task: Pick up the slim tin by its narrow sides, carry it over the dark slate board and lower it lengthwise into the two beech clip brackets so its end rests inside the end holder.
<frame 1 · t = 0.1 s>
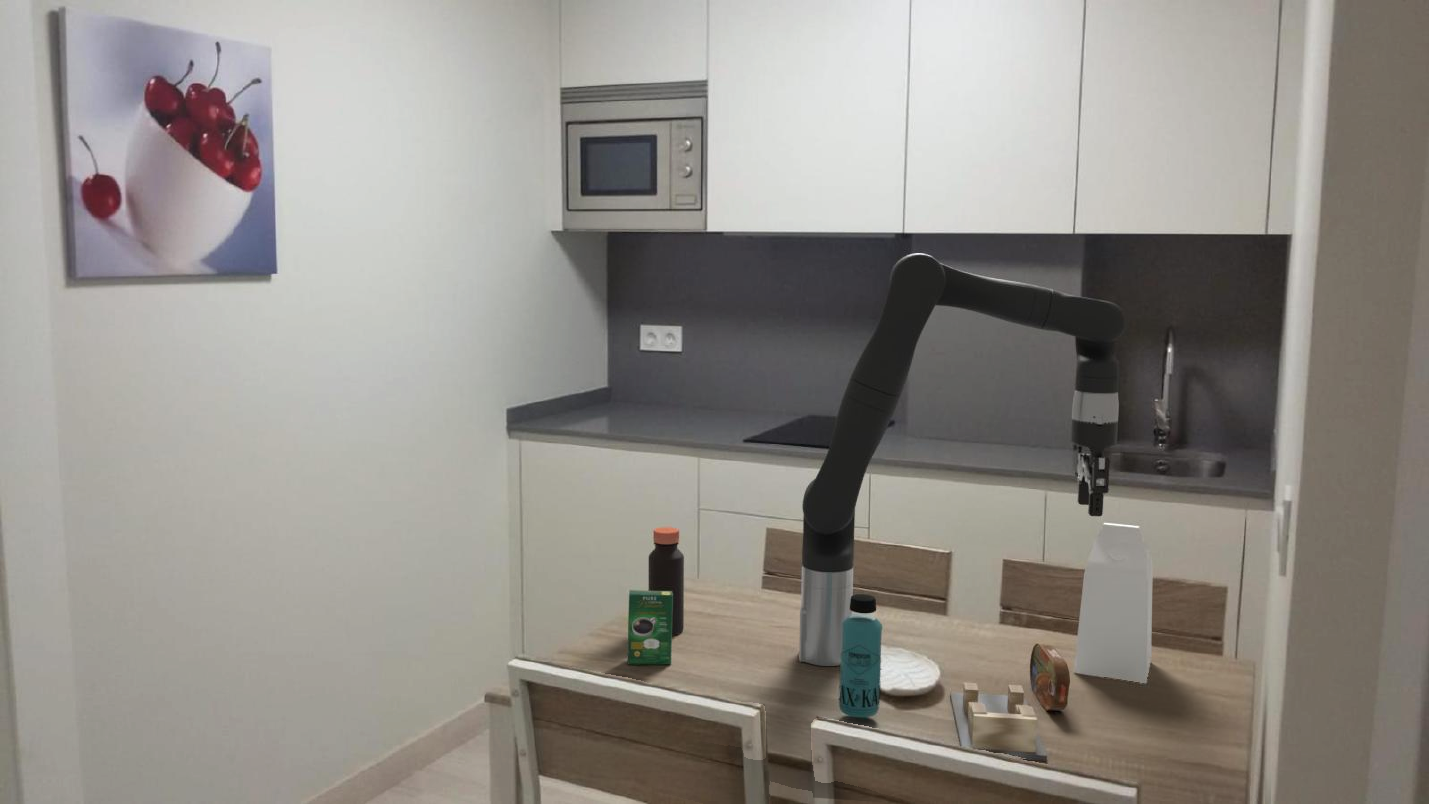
hand: (1089, 510, 193), 29 cm above the table, tool pointing down, fingers open, 8 cm apart
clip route: (995, 726, 173), on the table
tin: (1048, 701, 184), on the table
vinegar: (666, 631, 216), on the table
beverage bottle: (859, 720, 176), on the table
coffee box: (650, 663, 199), on the table
milk: (1112, 668, 199), on the table
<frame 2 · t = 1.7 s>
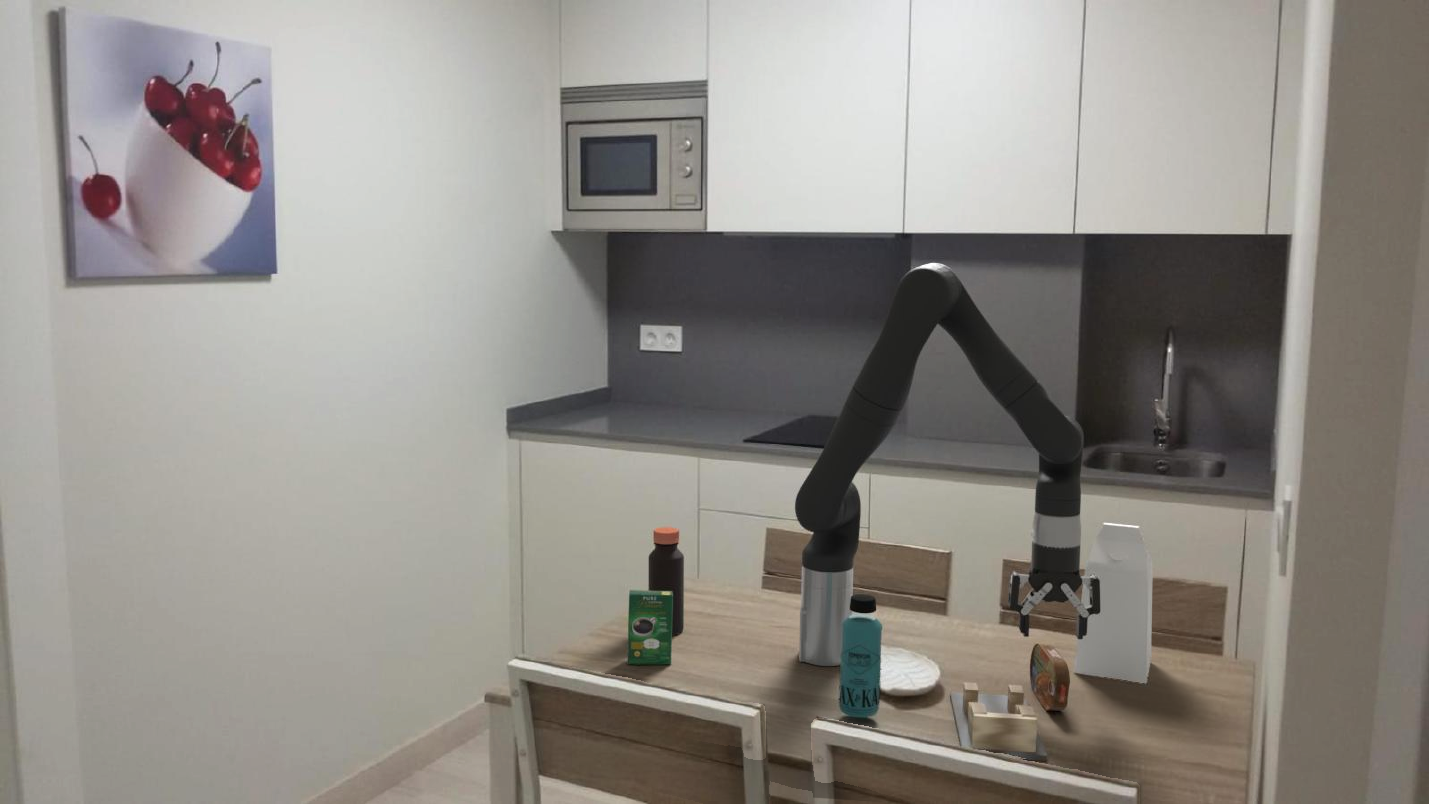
hand: (1052, 636, 182), 11 cm above the table, tool pointing down, fingers open, 8 cm apart
nothing on the table moved.
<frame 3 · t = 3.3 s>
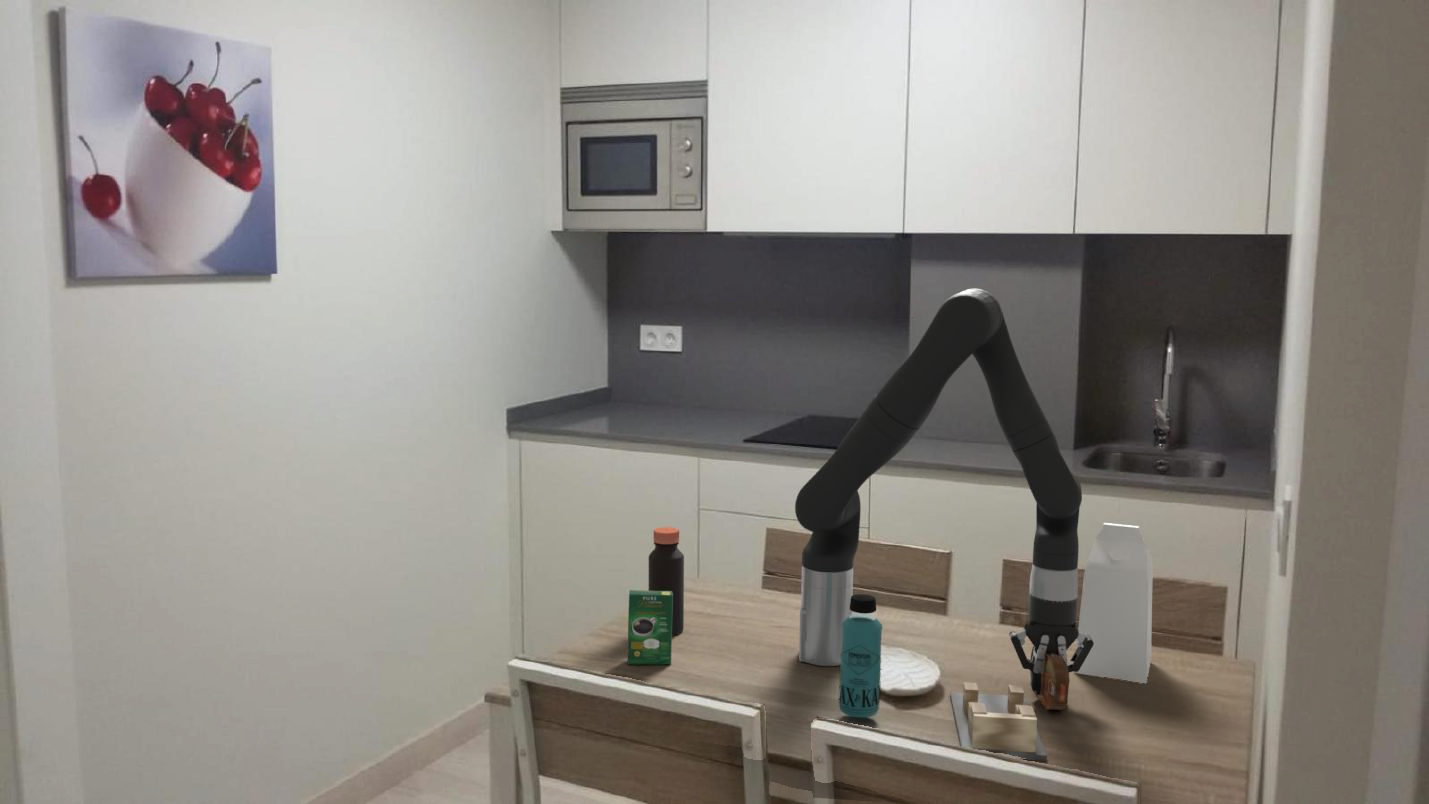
hand: (1048, 693, 184), 1 cm above the table, tool pointing down, fingers closed on tin, 3 cm apart
tin: (1049, 701, 184), on the table, touching gripper
everything else where it was.
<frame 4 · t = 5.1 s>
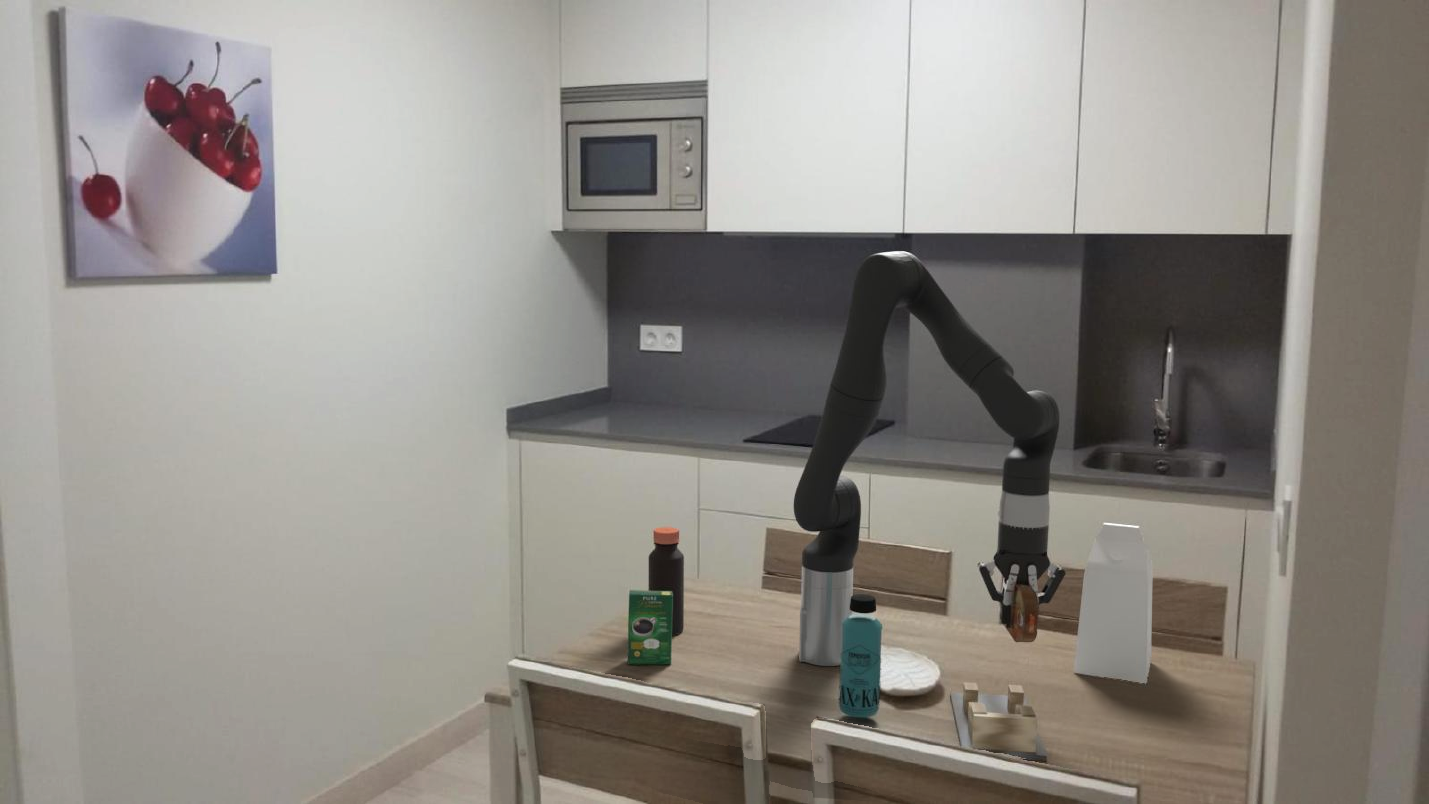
hand: (1018, 626, 175), 15 cm above the table, tool pointing down, fingers closed on tin, 2 cm apart
tin: (1019, 635, 176), point 13 cm above the table, touching gripper
everything else where it was.
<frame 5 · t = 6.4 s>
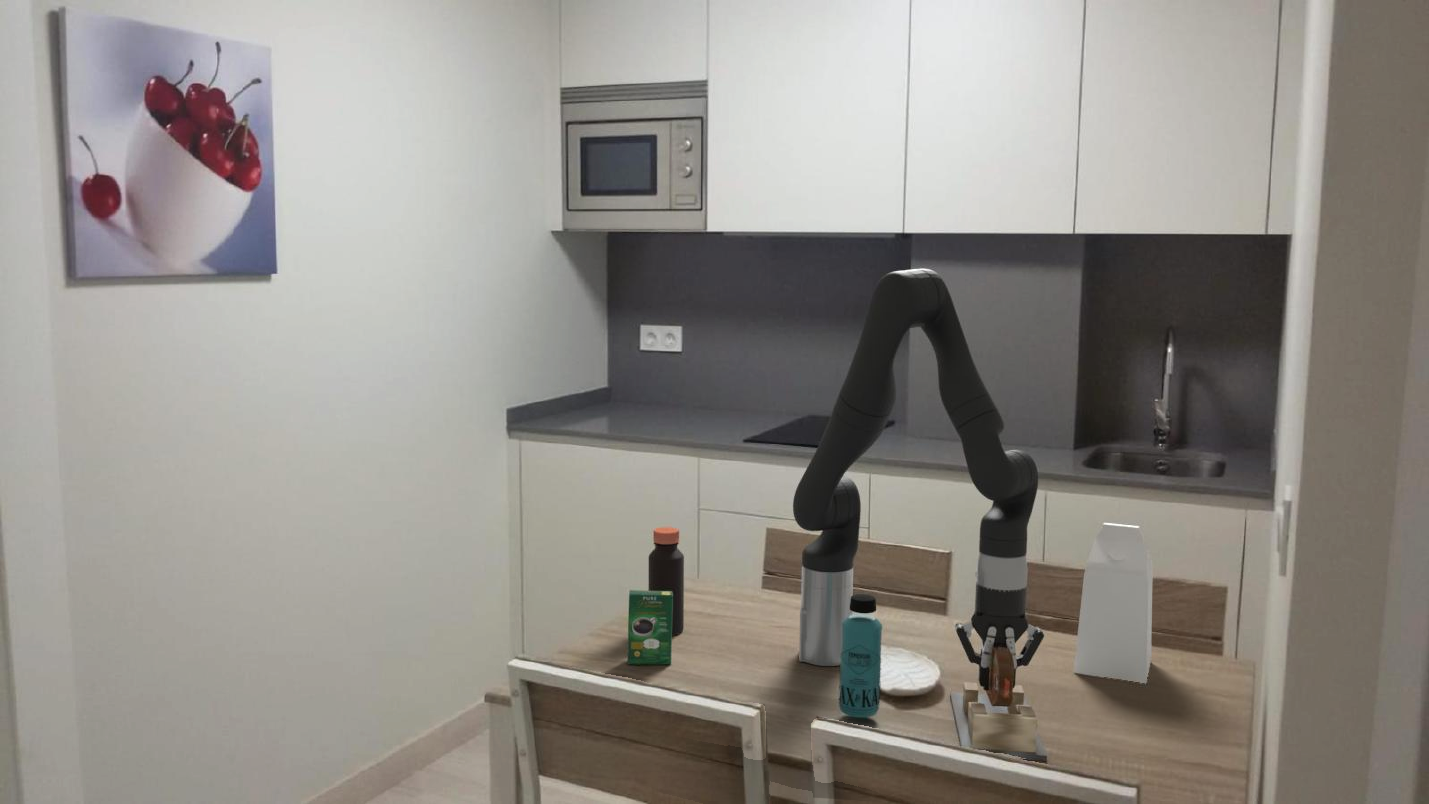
hand: (996, 688, 173), 6 cm above the table, tool pointing down, fingers closed on tin, 2 cm apart
tin: (997, 697, 173), point 5 cm above the table, touching gripper
everything else where it was.
when the fingers open (3 cm above the table, at t = 7.3 s): tin drops 1 cm, resting on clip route.
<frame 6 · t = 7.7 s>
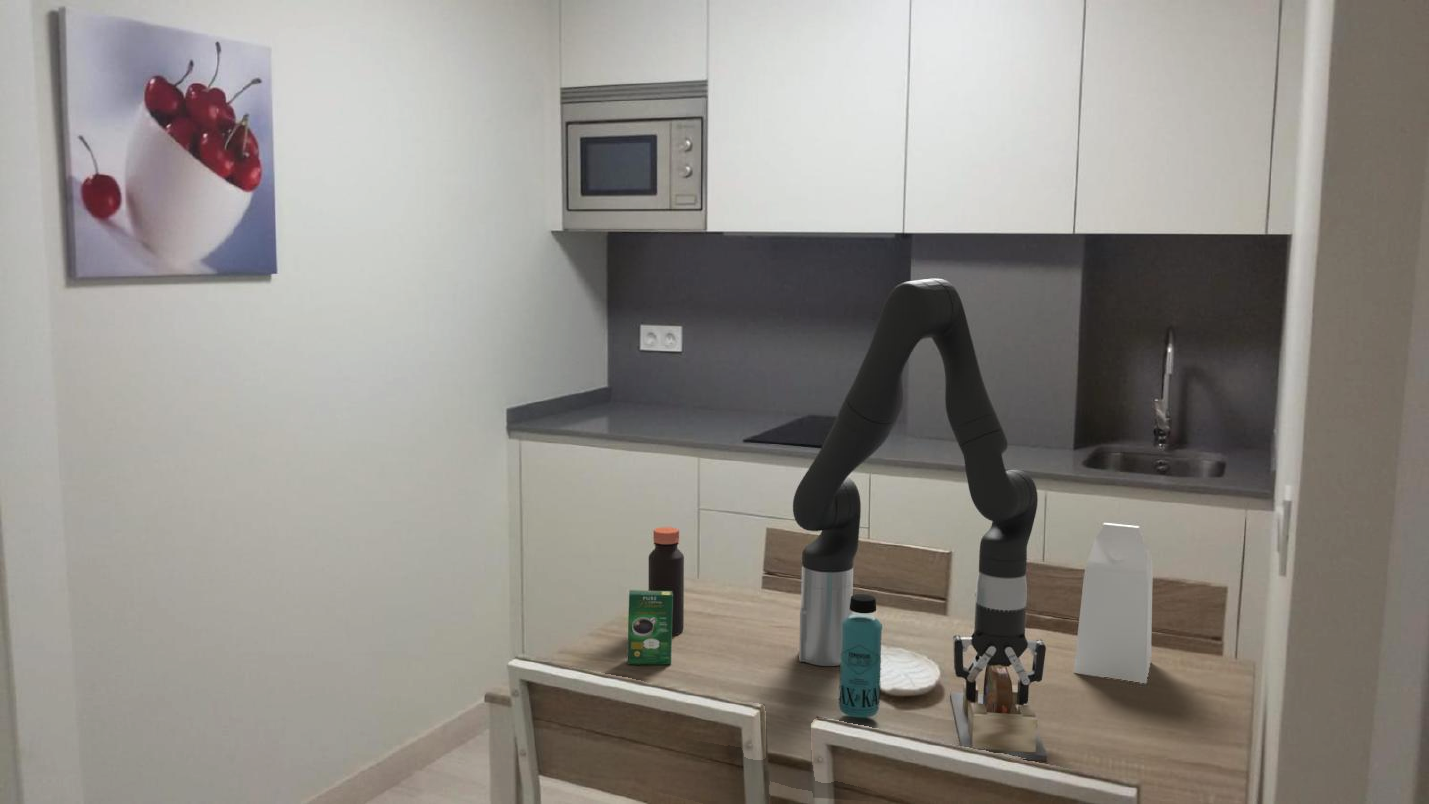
hand: (996, 703, 173), 4 cm above the table, tool pointing down, fingers open, 6 cm apart
tin: (996, 723, 173), point 1 cm above the table, touching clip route
everything else where it was.
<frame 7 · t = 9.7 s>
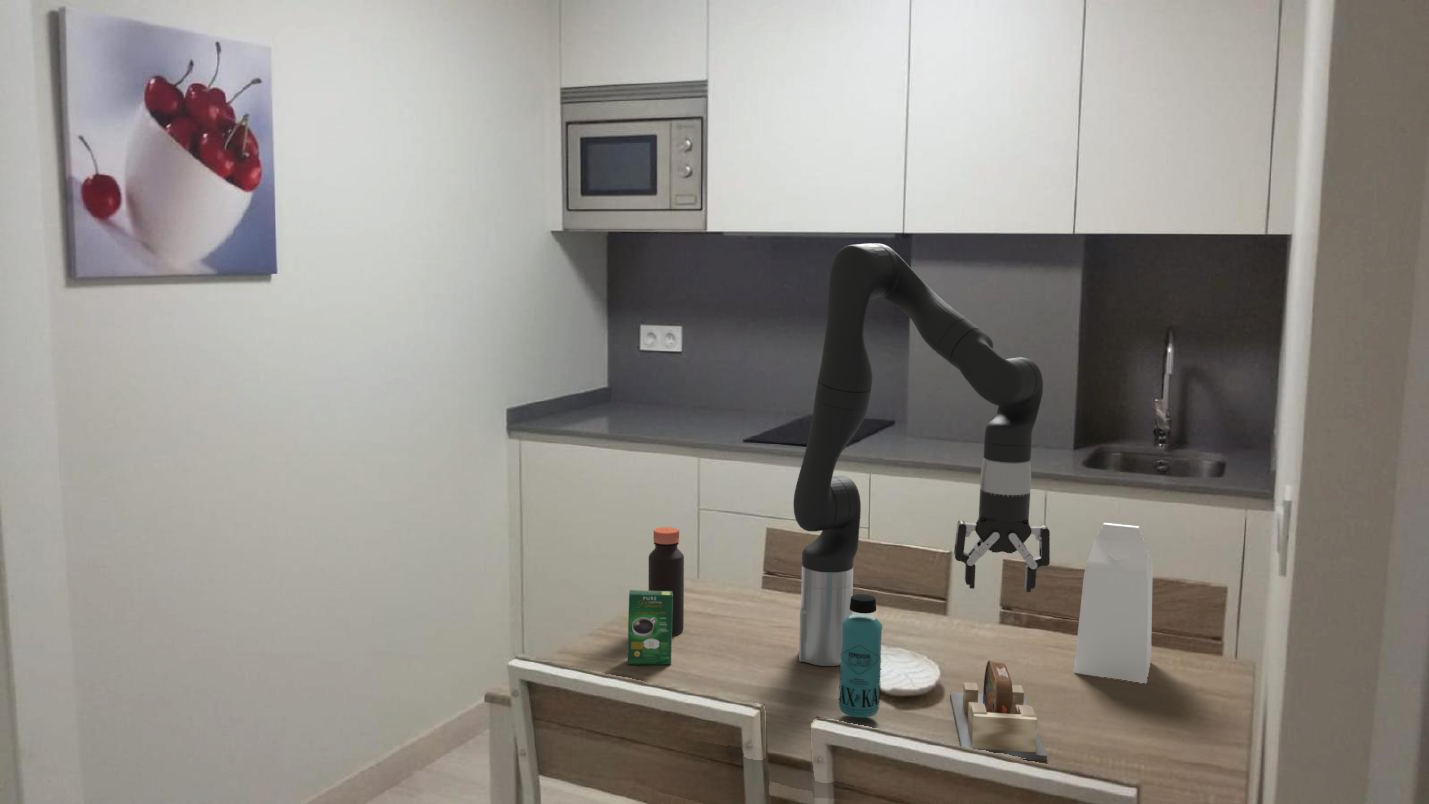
hand: (999, 589, 174), 21 cm above the table, tool pointing down, fingers open, 8 cm apart
nothing on the table moved.
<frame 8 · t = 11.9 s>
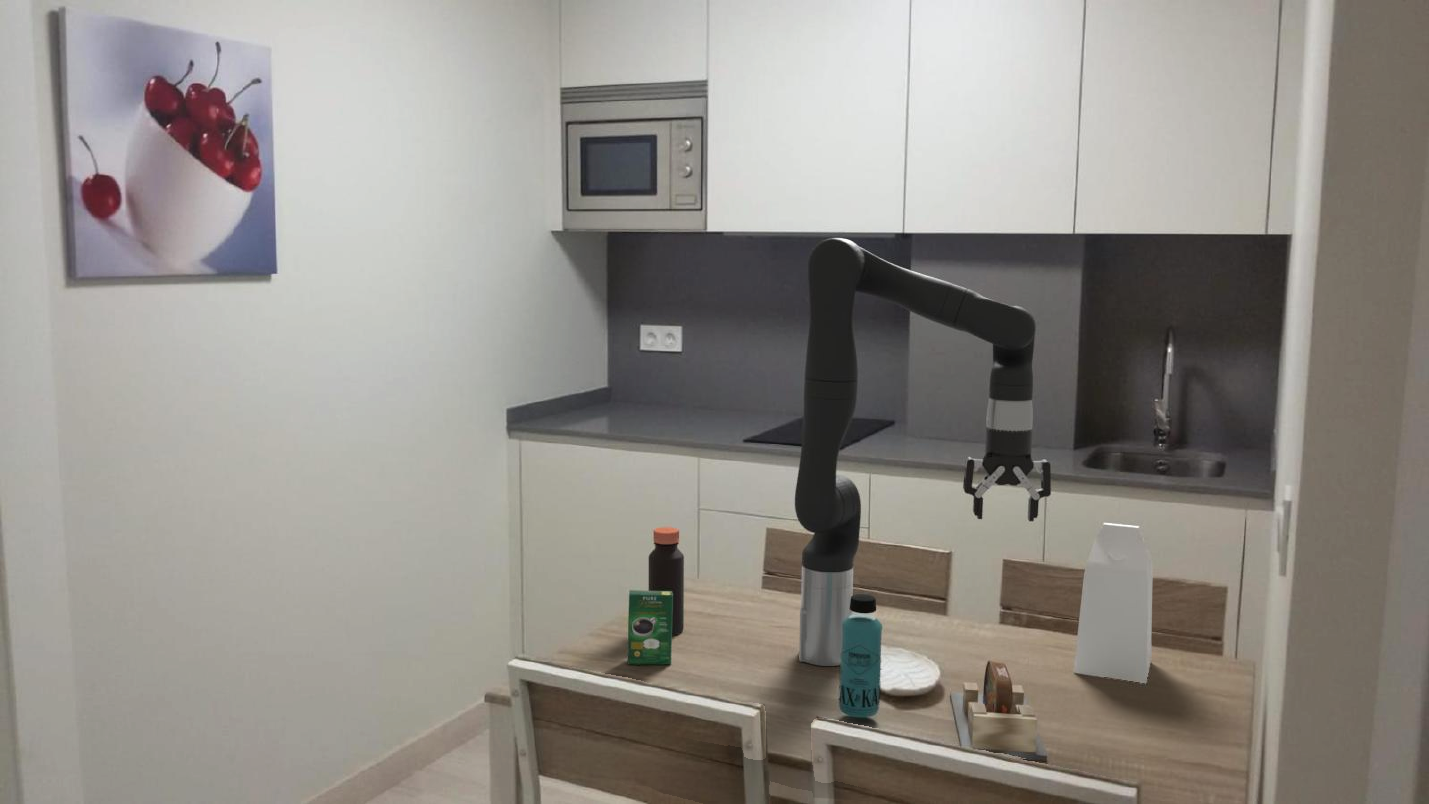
hand: (1005, 519, 190), 28 cm above the table, tool pointing down, fingers open, 8 cm apart
nothing on the table moved.
at the end: tin 0.1 cm off-centre on the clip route, point 0.6 cm above the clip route's base; tin tilted 0°; the gripper is holding nothing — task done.
